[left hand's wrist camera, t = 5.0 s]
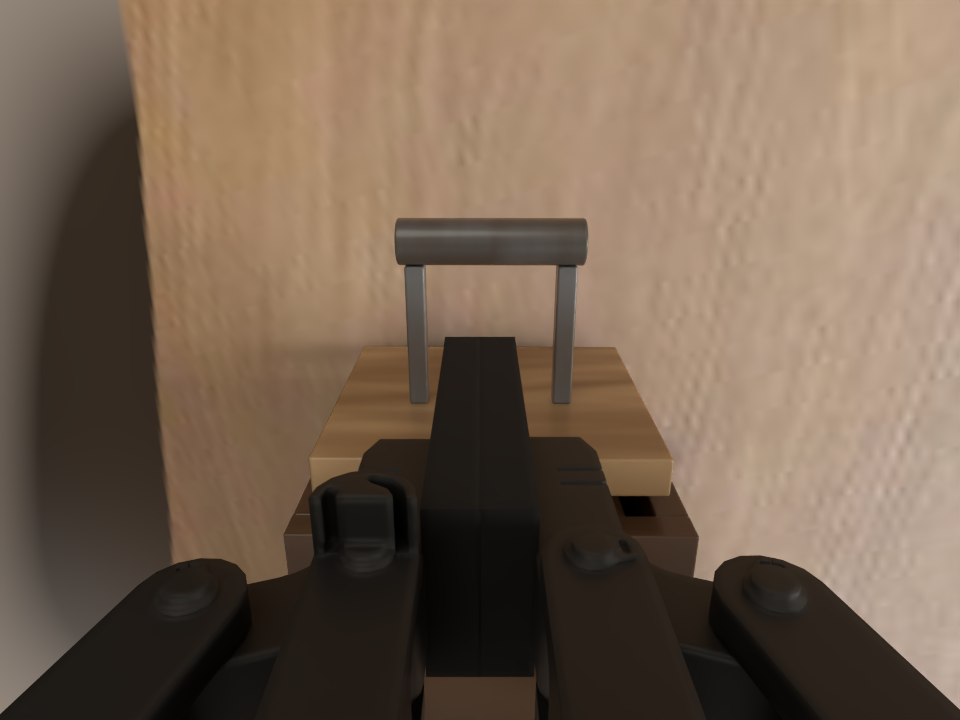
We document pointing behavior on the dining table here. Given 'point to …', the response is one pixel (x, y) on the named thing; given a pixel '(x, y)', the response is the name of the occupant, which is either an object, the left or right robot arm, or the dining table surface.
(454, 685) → the cabinet
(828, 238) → the dining table surface
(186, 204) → the dining table surface
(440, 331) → the dining table surface
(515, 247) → the drawer
